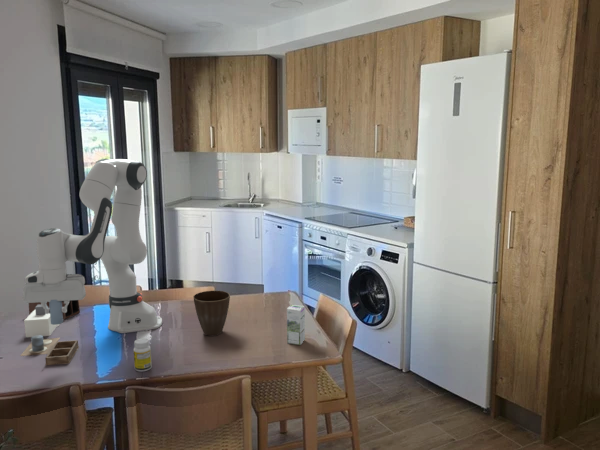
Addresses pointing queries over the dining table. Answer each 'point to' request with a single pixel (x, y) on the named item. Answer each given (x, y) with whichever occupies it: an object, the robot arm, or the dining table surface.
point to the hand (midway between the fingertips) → (56, 312)
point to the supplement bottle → (142, 355)
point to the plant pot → (212, 310)
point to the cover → (39, 323)
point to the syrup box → (295, 324)
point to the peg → (56, 312)
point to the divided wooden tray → (62, 352)
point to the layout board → (39, 346)
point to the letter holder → (71, 308)
